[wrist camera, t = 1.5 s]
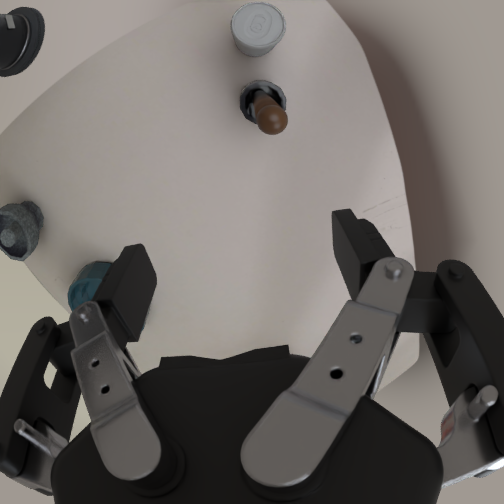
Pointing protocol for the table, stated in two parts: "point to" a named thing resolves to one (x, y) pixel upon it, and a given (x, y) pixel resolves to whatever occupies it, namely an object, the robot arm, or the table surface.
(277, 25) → the beverage can
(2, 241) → the mortar and pestle
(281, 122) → the stick
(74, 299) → the bowl
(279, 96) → the crock
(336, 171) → the table surface
